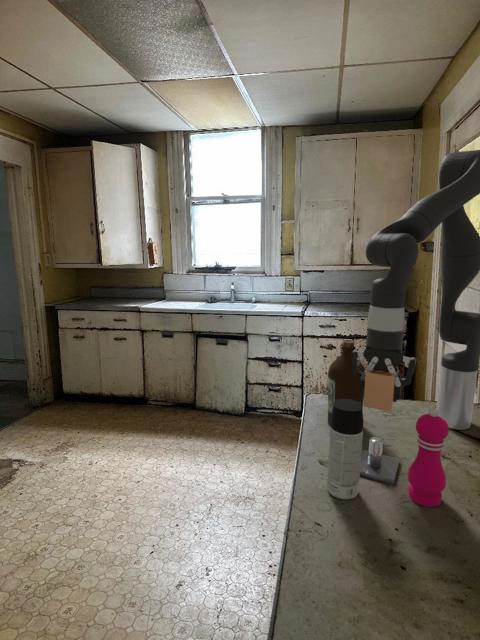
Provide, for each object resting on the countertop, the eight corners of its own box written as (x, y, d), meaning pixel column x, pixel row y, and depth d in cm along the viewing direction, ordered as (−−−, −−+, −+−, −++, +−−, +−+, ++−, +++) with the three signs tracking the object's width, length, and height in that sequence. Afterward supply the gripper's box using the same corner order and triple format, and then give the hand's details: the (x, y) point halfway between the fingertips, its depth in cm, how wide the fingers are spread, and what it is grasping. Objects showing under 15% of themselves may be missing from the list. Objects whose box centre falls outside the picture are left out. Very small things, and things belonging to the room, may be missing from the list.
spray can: (359, 485, 88) (365, 400, 83) (357, 504, 81) (364, 413, 77) (328, 479, 90) (332, 395, 86) (324, 497, 83) (329, 408, 79)
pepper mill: (427, 513, 79) (438, 419, 74) (398, 492, 85) (406, 405, 81) (451, 502, 82) (462, 412, 78) (421, 483, 88) (430, 399, 84)
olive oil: (358, 416, 121) (363, 337, 116) (366, 433, 111) (373, 346, 105) (323, 415, 122) (326, 336, 117) (328, 432, 111) (332, 346, 106)
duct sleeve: (368, 397, 95) (370, 365, 93) (395, 402, 92) (397, 369, 90) (363, 406, 90) (365, 372, 88) (391, 411, 87) (394, 377, 85)
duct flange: (357, 452, 101) (359, 426, 99) (399, 462, 96) (401, 436, 95) (347, 472, 92) (349, 444, 91) (393, 484, 88) (395, 455, 86)
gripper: (422, 326, 87) (415, 398, 91) (356, 320, 94) (351, 387, 97) (419, 333, 81) (412, 410, 84) (348, 326, 87) (344, 397, 91)
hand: (379, 397), depth 91 cm, fingers closed on duct sleeve, 6 cm apart
